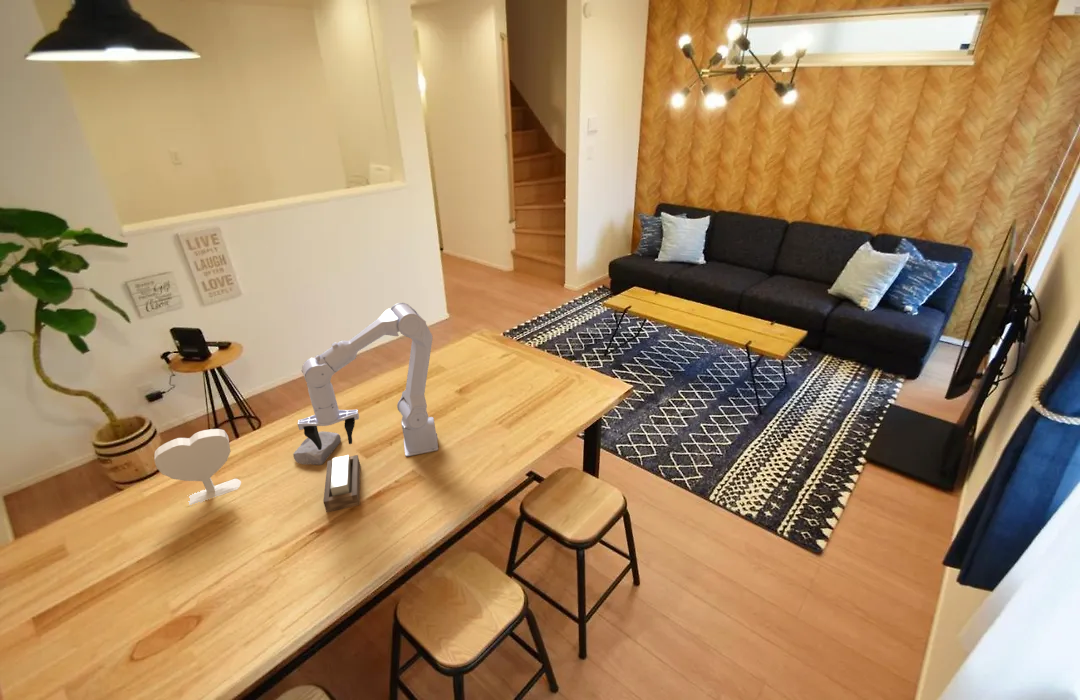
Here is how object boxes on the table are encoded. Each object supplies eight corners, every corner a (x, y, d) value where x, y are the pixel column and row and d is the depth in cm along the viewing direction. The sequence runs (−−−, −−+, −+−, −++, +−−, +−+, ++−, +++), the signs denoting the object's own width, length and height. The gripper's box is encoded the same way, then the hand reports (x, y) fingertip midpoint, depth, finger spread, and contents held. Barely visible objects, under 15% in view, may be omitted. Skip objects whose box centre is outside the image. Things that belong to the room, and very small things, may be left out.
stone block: (293, 468, 140) (324, 466, 138) (286, 455, 138) (317, 452, 136) (316, 443, 150) (345, 440, 148) (310, 431, 149) (339, 427, 146)
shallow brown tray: (360, 464, 138) (357, 454, 137) (359, 504, 125) (356, 494, 123) (330, 470, 136) (327, 460, 134) (326, 512, 123) (323, 502, 121)
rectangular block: (351, 467, 136) (348, 454, 134) (350, 497, 126) (347, 484, 123) (336, 470, 135) (333, 458, 133) (334, 501, 125) (330, 488, 122)
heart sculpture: (244, 475, 135) (223, 422, 127) (246, 485, 131) (224, 432, 123) (177, 499, 127) (150, 444, 119) (177, 511, 124) (149, 456, 115)
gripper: (354, 389, 130) (363, 430, 136) (295, 399, 126) (308, 441, 132) (353, 403, 124) (363, 445, 130) (291, 414, 120) (305, 457, 126)
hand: (335, 444), depth 131 cm, fingers open, 7 cm apart
